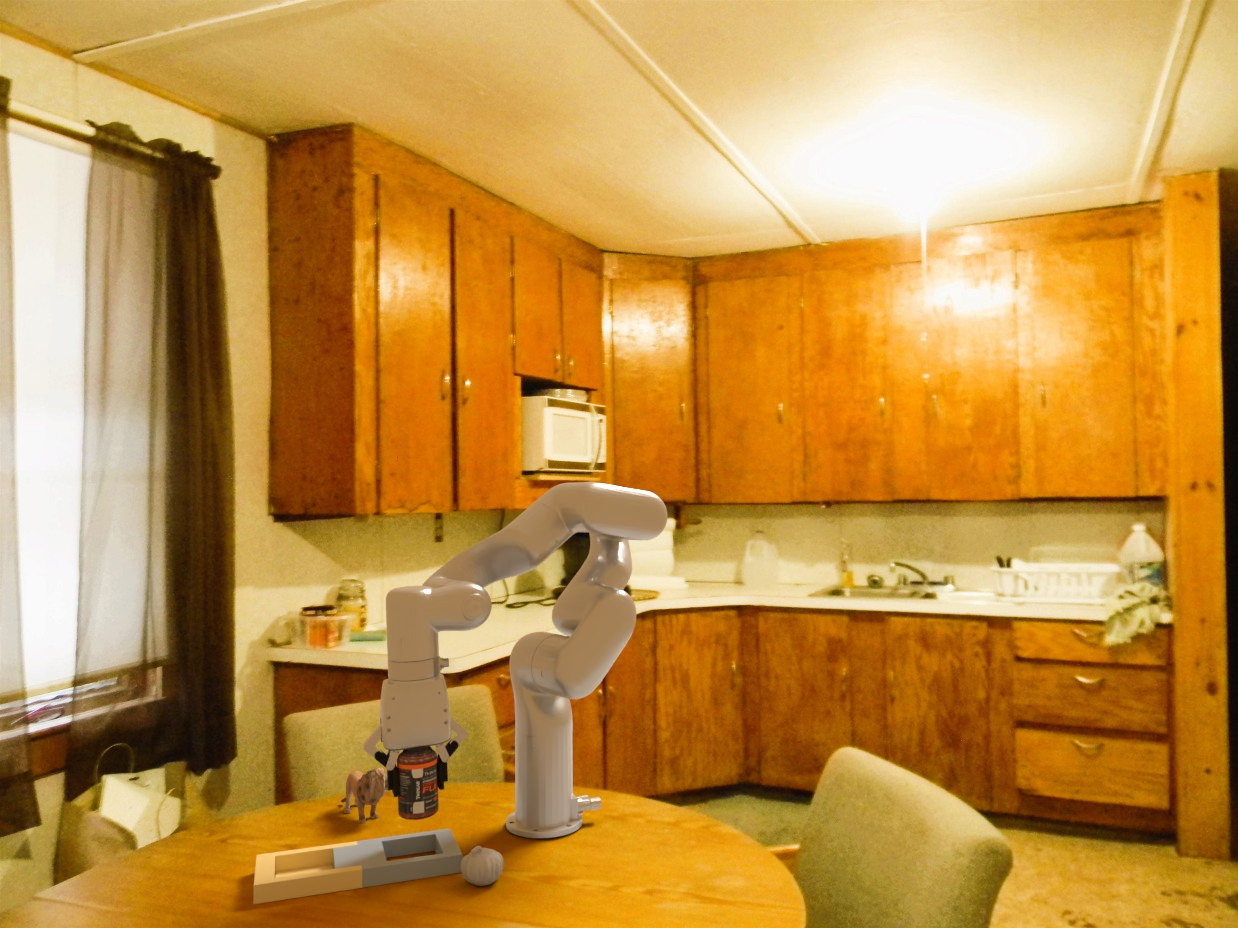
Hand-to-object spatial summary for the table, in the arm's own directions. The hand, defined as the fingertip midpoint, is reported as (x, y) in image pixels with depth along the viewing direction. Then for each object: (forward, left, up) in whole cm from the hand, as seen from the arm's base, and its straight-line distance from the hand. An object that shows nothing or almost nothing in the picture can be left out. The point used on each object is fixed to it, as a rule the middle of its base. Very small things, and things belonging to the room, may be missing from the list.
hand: (418, 789), depth 131 cm
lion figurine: (+6, -24, -11) cm, 27 cm away
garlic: (-8, +10, -11) cm, 17 cm away
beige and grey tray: (+8, 0, -11) cm, 14 cm away
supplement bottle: (0, 0, -4) cm, 4 cm away
